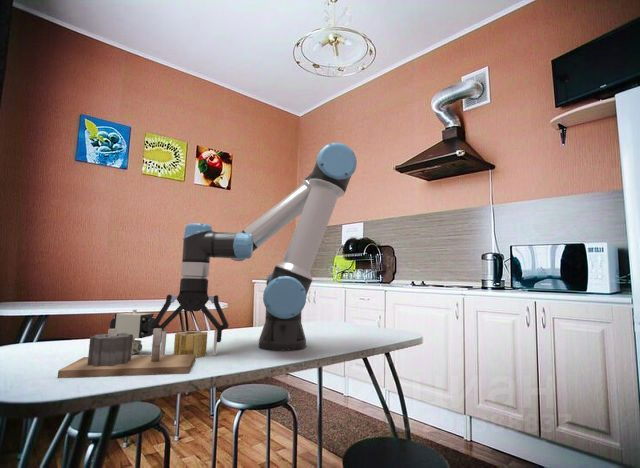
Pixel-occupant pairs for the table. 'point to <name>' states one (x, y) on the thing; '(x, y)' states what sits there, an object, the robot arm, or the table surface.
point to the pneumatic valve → (134, 326)
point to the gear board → (125, 358)
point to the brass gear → (190, 343)
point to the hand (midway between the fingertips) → (188, 355)
